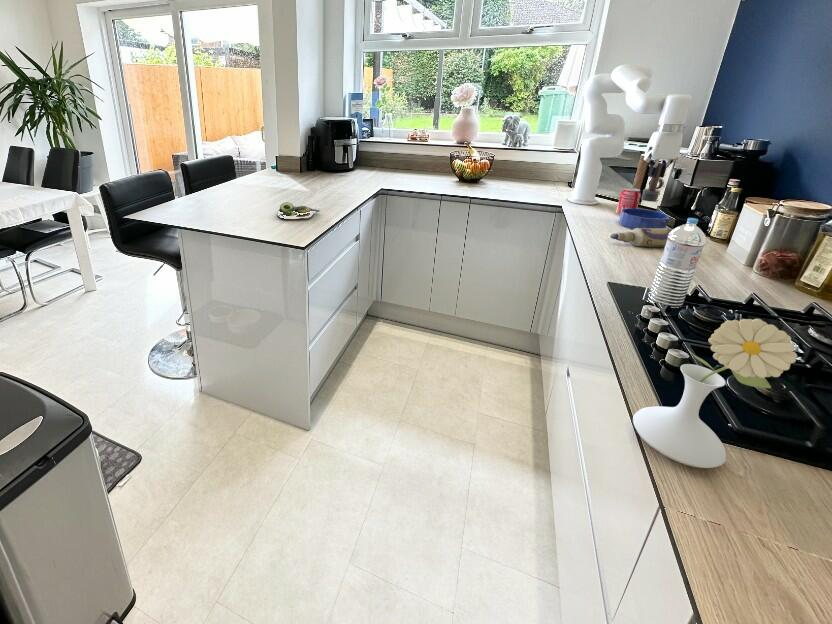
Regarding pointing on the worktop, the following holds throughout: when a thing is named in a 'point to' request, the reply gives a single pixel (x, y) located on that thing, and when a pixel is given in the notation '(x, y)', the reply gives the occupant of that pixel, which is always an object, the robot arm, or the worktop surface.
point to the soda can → (628, 199)
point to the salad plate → (289, 208)
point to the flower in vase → (750, 363)
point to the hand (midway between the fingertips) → (655, 176)
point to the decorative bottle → (644, 237)
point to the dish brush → (653, 187)
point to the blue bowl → (643, 218)
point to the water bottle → (677, 265)
